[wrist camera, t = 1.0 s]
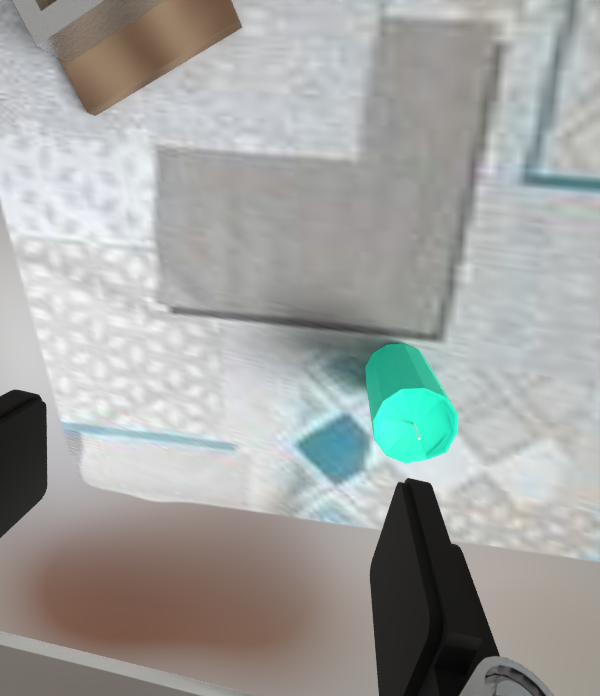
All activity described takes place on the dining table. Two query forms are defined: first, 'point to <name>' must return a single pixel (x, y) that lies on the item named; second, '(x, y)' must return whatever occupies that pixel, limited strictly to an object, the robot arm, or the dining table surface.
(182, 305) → the dining table surface
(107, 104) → the board
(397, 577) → the robot arm
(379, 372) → the candle
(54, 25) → the collar
